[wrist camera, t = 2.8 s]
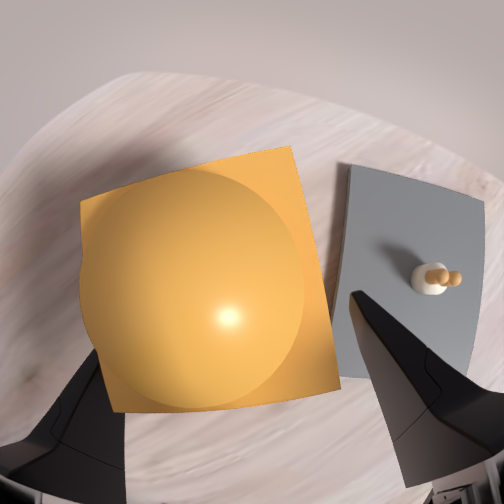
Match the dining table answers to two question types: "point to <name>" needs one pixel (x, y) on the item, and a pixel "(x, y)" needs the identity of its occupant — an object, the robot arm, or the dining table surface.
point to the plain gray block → (410, 264)
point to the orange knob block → (207, 289)
